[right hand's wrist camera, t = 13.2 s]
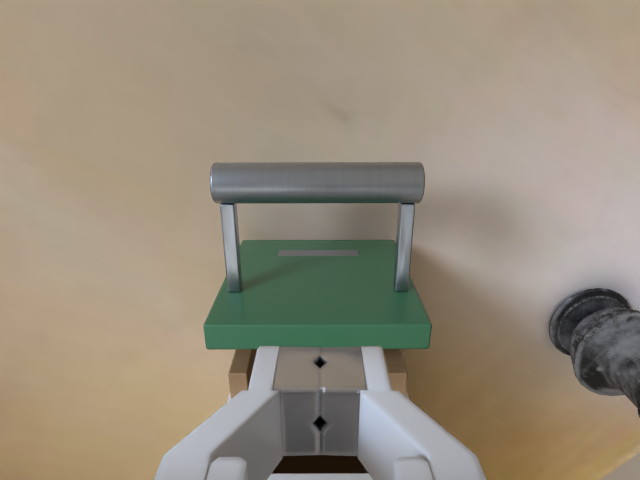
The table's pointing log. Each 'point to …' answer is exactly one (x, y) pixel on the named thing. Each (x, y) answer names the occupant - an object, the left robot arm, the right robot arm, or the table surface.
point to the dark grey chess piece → (600, 342)
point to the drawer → (317, 276)
